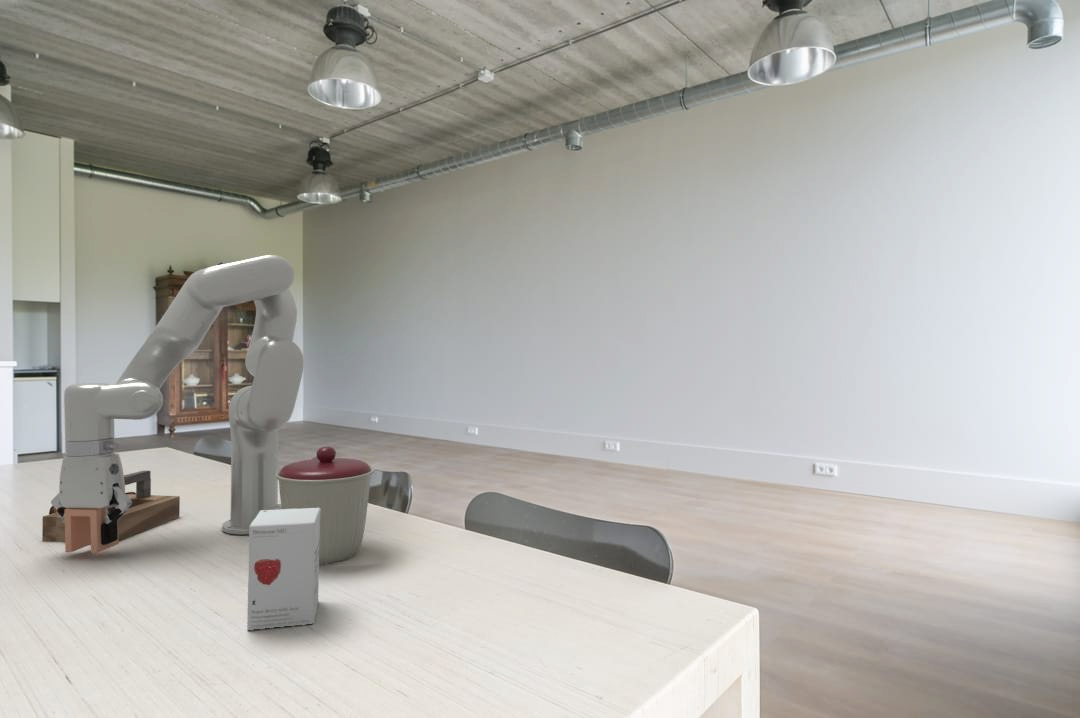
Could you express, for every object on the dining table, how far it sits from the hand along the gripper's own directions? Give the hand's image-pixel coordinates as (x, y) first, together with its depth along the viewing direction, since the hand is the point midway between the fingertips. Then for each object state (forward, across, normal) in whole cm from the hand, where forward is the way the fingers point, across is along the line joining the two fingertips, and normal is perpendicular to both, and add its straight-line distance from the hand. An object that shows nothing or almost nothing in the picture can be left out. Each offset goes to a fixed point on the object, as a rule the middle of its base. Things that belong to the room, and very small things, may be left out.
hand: (92, 541), depth 114 cm
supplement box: (+3, -50, +20) cm, 54 cm away
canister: (+4, -44, -6) cm, 44 cm away
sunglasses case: (+4, +22, -27) cm, 35 cm away
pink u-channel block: (+1, 0, 0) cm, 1 cm away
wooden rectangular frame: (+3, +10, -16) cm, 19 cm away
